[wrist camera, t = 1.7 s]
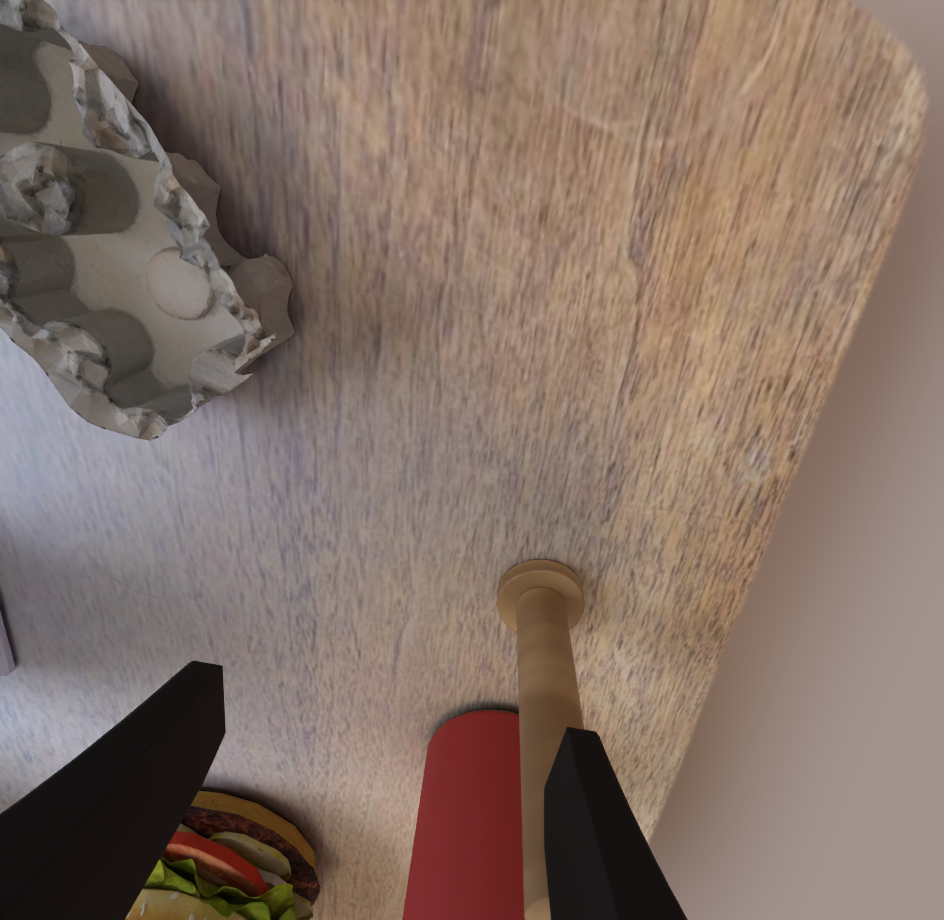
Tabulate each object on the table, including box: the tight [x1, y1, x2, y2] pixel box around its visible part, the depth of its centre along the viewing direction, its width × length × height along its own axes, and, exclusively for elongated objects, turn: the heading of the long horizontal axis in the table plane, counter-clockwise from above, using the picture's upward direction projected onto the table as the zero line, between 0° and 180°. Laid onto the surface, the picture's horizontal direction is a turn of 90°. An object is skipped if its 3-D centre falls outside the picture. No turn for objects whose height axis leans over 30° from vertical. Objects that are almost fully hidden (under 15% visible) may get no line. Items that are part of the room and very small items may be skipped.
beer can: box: [402, 709, 525, 920], centre depth 21 cm, size 7×7×12 cm
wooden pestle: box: [497, 560, 585, 920], centre depth 17 cm, size 4×4×11 cm
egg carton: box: [0, 0, 295, 440], centre depth 15 cm, size 11×8×4 cm
